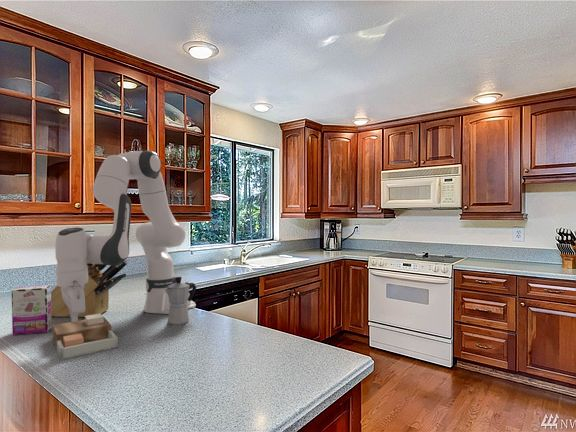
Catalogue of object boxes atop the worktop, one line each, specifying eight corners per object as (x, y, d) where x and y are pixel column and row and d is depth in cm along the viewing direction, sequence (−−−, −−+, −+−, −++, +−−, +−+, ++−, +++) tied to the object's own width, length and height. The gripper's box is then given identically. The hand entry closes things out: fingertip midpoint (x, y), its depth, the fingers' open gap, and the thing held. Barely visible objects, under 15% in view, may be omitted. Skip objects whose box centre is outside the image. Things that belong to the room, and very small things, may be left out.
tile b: (81, 339, 118) (80, 333, 118) (83, 344, 114) (83, 337, 114) (63, 342, 115) (63, 336, 115) (65, 347, 111) (65, 341, 111)
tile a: (100, 318, 132) (100, 313, 132) (103, 322, 128) (103, 316, 128) (85, 321, 129) (85, 316, 129) (87, 325, 125) (87, 319, 125)
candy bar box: (52, 328, 136) (52, 285, 136) (47, 332, 131) (46, 288, 131) (17, 330, 133) (17, 286, 133) (11, 335, 128) (10, 289, 128)
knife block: (116, 319, 148) (116, 243, 147) (32, 317, 149) (31, 242, 148) (129, 311, 159) (129, 240, 158) (51, 309, 160) (50, 240, 159)
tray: (111, 339, 126) (111, 330, 126) (117, 347, 119) (117, 337, 118) (57, 350, 116) (56, 340, 116) (60, 359, 109) (60, 349, 109)
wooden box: (103, 329, 135) (103, 316, 135) (111, 339, 126) (111, 324, 125) (52, 339, 125) (52, 325, 125) (57, 350, 116) (56, 334, 116)
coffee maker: (171, 327, 138) (171, 280, 137) (158, 323, 143) (158, 278, 142) (202, 318, 150) (202, 275, 149) (189, 314, 155) (189, 272, 154)
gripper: (90, 282, 110) (91, 327, 111) (78, 272, 126) (79, 311, 127) (66, 286, 106) (67, 332, 107) (57, 274, 122) (58, 314, 123)
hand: (74, 320), depth 117 cm, fingers closed
